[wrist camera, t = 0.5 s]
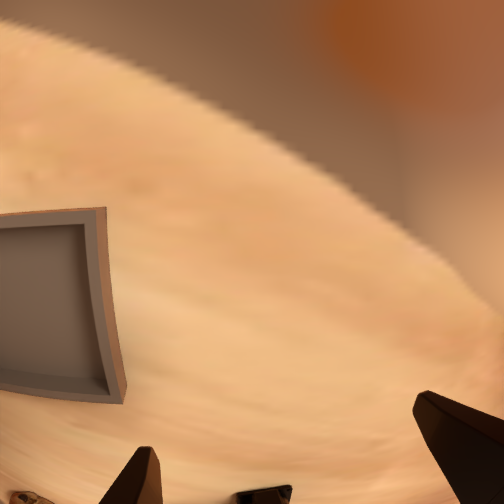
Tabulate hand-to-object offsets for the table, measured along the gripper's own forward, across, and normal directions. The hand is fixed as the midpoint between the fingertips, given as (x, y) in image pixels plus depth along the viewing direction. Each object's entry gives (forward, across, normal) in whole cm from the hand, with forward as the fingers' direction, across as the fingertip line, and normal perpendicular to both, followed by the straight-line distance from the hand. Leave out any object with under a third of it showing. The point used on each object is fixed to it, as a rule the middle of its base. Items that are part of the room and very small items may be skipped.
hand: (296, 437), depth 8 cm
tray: (+14, +16, 0) cm, 21 cm away
